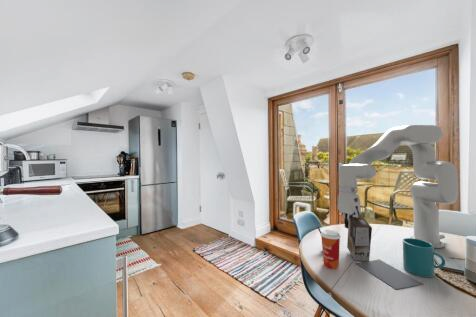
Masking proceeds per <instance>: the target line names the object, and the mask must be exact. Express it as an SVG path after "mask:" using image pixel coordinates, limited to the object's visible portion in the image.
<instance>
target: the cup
mask: <svg viewBox="0 0 476 317" xmlns="http://www.w3.org/2000/svg"><path fill="white" fill-rule="evenodd" d="M435 256H437V257H439V258H440V259H441V263H440V264H435ZM402 260H403V262H402V265H403V268H404V270H406V271H407V272H409V273H410V274H412V275H416V276H419V277H423V278H432V277H434V276H435V269H442V268H443V267H445V266H446V259H445V258H444V256H443V255H442V254H440V253H438V252H437V251H435V248H434V246H433V245H432V244H431V243H429V242H426V241H423V240H419V239H414V238H410V237H406V238H403V239H402Z"/></svg>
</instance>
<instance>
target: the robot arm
mask: <svg viewBox="0 0 476 317" xmlns="http://www.w3.org/2000/svg"><path fill="white" fill-rule="evenodd" d="M443 133H444V132H443V130H442V129H441V127H439V126H437V125H436V124H435V125H434V124H408V125H401V126H395V127H391V128H389V129H388V130H387V131H386V132H385V133H383V135H382V136H381V137H380V138H379V139H378V140H377V141H376V142H375V143H374V144H373V145H372V146H370V147H369V148H367V149H365V150H364V151H362V152H360V153H359V154H357V155H356V156H355V157H353V158H352V159H351V160H350V161H349V162H348V164H340V165H339V166H338V181H339V183H338V185H339V186H338V188H339V191H338V196H337V209H338V211H339V213H340V214H341V215H342V216H343V219H344V228H346V229H347V230H348V221H349V217H354V218H358V217H359V215H361V213H362V206H361V198H360V195H359V193H358V180H370V179H371V180H372V179H373V178H374V177H376V174H377V169H376V167H375V166H373V165H372V163H375V162H378V161H382V160H385V159H387V158H389V157H390V156H391V155H392V154H393V153H394V152H395V151H396V150H397V149H398V148H399V146H401V145H403V144H404V145H406V146H407V147H409V149H410V150H411V152H412V161H413V164H412V165H413V166H412V167H413V175H414V176H415V177H416V178H417V179H421V180H428V181H416V182H414V183H412V184H411V185H410V189H409V190H410V194H411V199H412V206H413V207H412V208H413V235H412V236H410V237H409V238H414V239H419V240H423V241H426V242H429V243H431V244H432V245H433V246H434V249H442V248H444V247H445V243H444V242H442V241H441V240H442V239H443V240H444V239H446V236H445V235H444V234H440V211H439V207H438V205H437V204H442V205H453V204H455V203H456V202H457V200H458V198H459V180H458V179H459V178H458V170H457V167H456V165H455V164H453V163H452V162H451V161H446V160H445V161H444V160H437V155H436V150H435V148H434V146H432V144H436V143H438V142H440V140H442V138H443V136H444V134H443ZM431 181H436V182H431Z"/></svg>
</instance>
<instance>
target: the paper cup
mask: <svg viewBox="0 0 476 317" xmlns="http://www.w3.org/2000/svg"><path fill="white" fill-rule="evenodd" d="M320 236H321V248H322V257H323V258H322V259H323V265H324V267H326V268H327V269H329V270H337V269H339V267H340V266H339V265H340V264H339V262H340V244H341V243H340V241H341V240H340V239H341V235H340V232H338V231H337V230H334V229H322V230H321V234H320Z"/></svg>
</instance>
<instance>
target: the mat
mask: <svg viewBox="0 0 476 317" xmlns="http://www.w3.org/2000/svg"><path fill="white" fill-rule="evenodd" d="M355 264H356V265H357V266H358V267H361V268H362V269H363V270H365V271H367V272H368V273H370V274H371V275H372V276H374V277H376V278H377V279H379V280H381V281H382V282H383V283H385V284H386V285H388V286H390V287H391V288H392V289H394V290H402V289H407V288H412V287H417V286H422V285H424V282H421V281H420V280H418V279H416V278H414V277H413V276H411V275H409V274H407V273H405V272H403V271H401V270H400V269H398V268H396V267H394V266H392V265H390V264H388V263H386V262H385V261H383V260H382V259H373V260H369V261H360V262H356V263H355Z"/></svg>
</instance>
